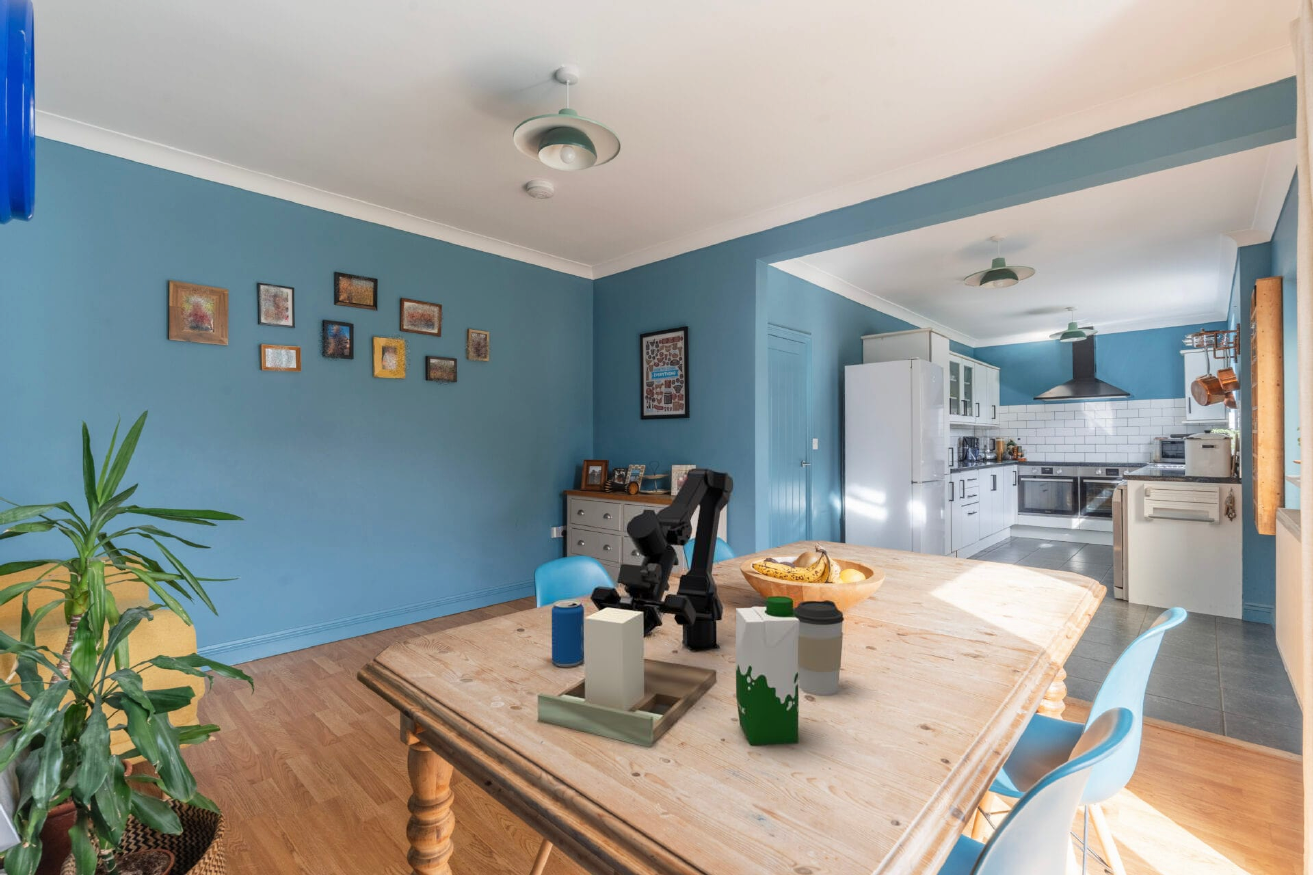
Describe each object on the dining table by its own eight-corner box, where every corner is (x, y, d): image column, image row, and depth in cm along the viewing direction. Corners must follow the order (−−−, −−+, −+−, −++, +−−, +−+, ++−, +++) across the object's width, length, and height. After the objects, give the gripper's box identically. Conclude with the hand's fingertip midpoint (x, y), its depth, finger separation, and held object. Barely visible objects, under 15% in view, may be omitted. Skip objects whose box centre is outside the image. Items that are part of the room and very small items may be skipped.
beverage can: (578, 669, 117) (577, 607, 117) (546, 667, 118) (546, 606, 118) (588, 657, 123) (588, 599, 124) (558, 656, 125) (558, 598, 125)
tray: (622, 664, 119) (621, 644, 119) (716, 681, 110) (716, 659, 110) (537, 720, 95) (537, 695, 95) (649, 747, 86) (649, 719, 86)
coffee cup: (816, 701, 101) (815, 612, 101) (782, 683, 109) (781, 600, 109) (856, 691, 105) (854, 605, 105) (819, 674, 113) (818, 594, 113)
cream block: (607, 689, 102) (607, 607, 102) (644, 697, 99) (643, 612, 99) (585, 706, 96) (584, 617, 96) (623, 714, 92) (622, 623, 93)
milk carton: (806, 745, 86) (804, 606, 87) (744, 748, 85) (742, 608, 86) (787, 718, 95) (786, 591, 95) (731, 721, 94) (730, 593, 95)
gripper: (595, 542, 110) (560, 617, 100) (688, 548, 102) (660, 632, 92) (617, 576, 117) (586, 651, 107) (706, 585, 109) (682, 667, 98)
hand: (626, 649), depth 101 cm, fingers closed
